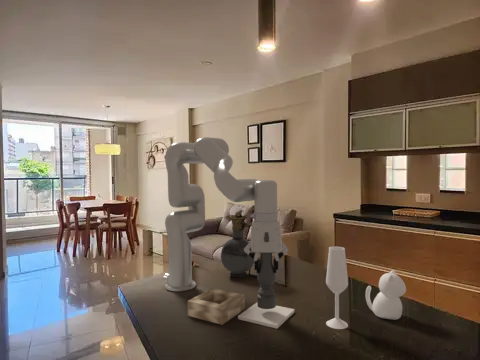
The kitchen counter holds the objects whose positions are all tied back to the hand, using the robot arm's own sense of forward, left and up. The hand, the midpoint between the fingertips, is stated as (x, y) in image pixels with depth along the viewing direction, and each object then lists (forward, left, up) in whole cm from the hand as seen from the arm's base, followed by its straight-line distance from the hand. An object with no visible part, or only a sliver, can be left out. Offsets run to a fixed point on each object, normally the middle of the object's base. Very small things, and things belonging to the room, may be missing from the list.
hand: (266, 271), depth 116 cm
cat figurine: (+34, +19, -15) cm, 42 cm away
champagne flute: (+22, +5, -15) cm, 27 cm away
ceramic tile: (0, 0, -15) cm, 15 cm away
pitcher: (-29, +33, -15) cm, 46 cm away
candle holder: (0, 0, -12) cm, 12 cm away
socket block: (-16, -6, -15) cm, 23 cm away
